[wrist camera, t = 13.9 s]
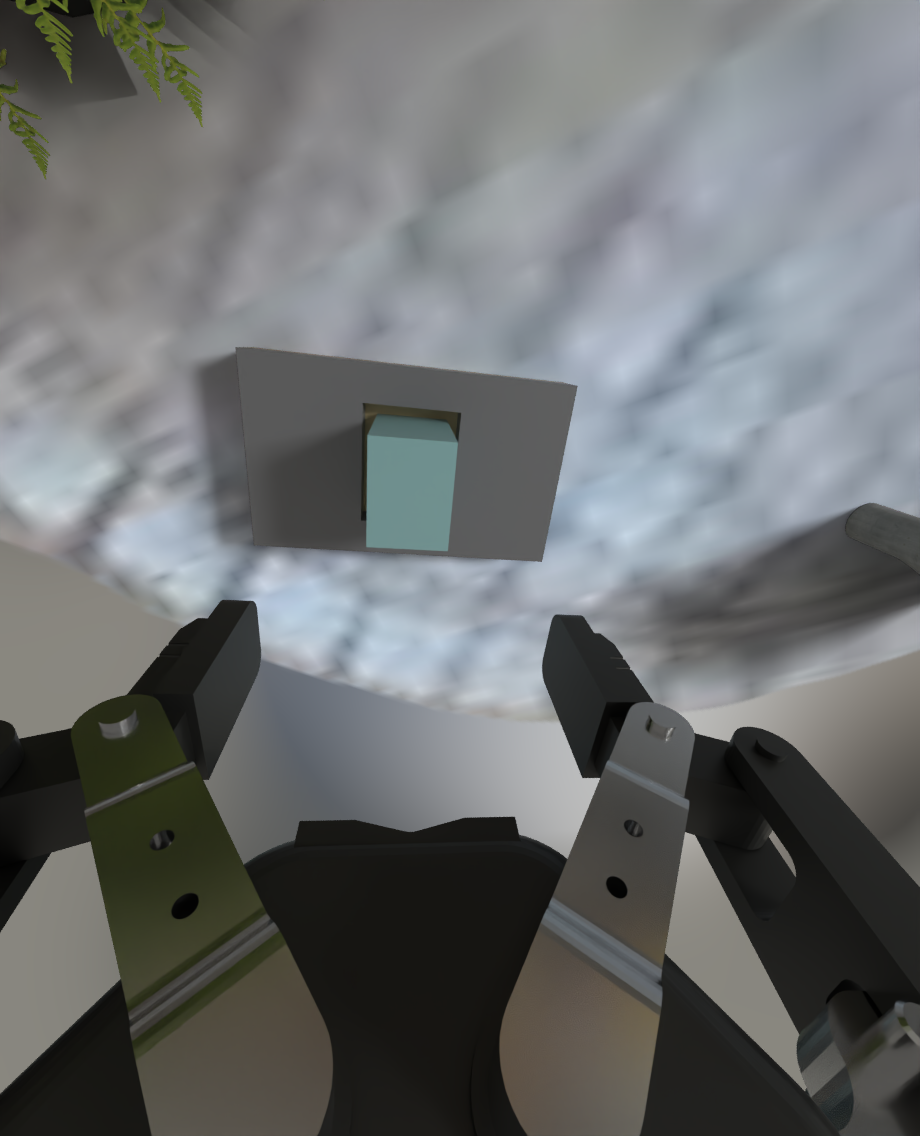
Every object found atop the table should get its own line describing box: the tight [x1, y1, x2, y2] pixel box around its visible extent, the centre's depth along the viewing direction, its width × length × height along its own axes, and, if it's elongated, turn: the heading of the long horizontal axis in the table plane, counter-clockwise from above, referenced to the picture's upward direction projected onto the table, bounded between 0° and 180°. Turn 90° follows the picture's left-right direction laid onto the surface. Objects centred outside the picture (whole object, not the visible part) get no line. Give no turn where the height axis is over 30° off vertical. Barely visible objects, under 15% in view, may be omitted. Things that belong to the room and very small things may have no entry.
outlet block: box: [236, 347, 577, 562], centre depth 31 cm, size 12×20×3 cm, turn 84°
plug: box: [366, 414, 458, 551], centre depth 28 cm, size 6×4×8 cm
